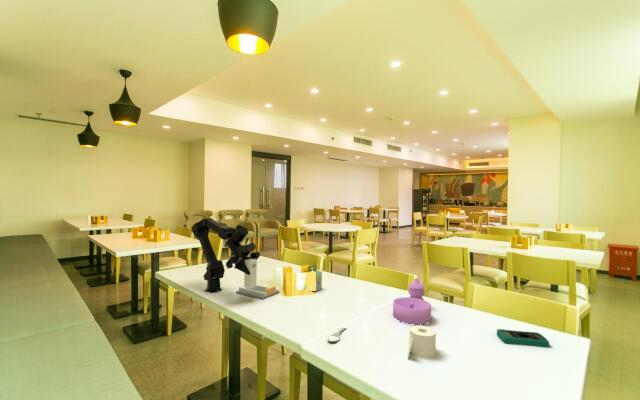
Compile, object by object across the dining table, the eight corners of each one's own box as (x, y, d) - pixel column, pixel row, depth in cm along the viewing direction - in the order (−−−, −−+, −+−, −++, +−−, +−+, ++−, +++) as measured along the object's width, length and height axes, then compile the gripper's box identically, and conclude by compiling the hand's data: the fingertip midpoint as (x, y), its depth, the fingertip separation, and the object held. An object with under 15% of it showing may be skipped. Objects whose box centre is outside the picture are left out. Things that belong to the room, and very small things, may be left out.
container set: (428, 328, 119) (429, 294, 119) (389, 321, 126) (390, 289, 125) (434, 308, 142) (434, 279, 142) (400, 302, 148) (401, 275, 148)
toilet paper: (407, 359, 96) (407, 337, 96) (410, 343, 106) (410, 323, 106) (435, 365, 93) (435, 342, 93) (435, 348, 103) (435, 327, 103)
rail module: (244, 287, 146) (244, 260, 146) (250, 285, 150) (250, 258, 150) (250, 288, 144) (251, 261, 144) (256, 286, 148) (256, 259, 147)
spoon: (324, 343, 106) (324, 339, 106) (345, 322, 125) (345, 318, 125) (335, 346, 104) (335, 341, 104) (355, 324, 123) (355, 320, 123)
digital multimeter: (551, 349, 105) (551, 340, 105) (503, 344, 107) (504, 336, 107) (539, 339, 112) (540, 331, 112) (495, 335, 115) (495, 327, 115)
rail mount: (236, 293, 158) (236, 285, 158) (253, 287, 170) (253, 280, 170) (262, 299, 149) (262, 291, 149) (279, 292, 161) (279, 285, 161)
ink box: (314, 292, 162) (314, 267, 162) (308, 291, 164) (308, 266, 164) (321, 289, 167) (322, 265, 167) (316, 288, 170) (316, 264, 170)
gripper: (230, 239, 141) (247, 266, 135) (258, 235, 157) (274, 259, 151) (218, 255, 145) (234, 281, 139) (246, 249, 161) (262, 273, 155)
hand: (252, 273), depth 146 cm, fingers closed on rail module, 4 cm apart
